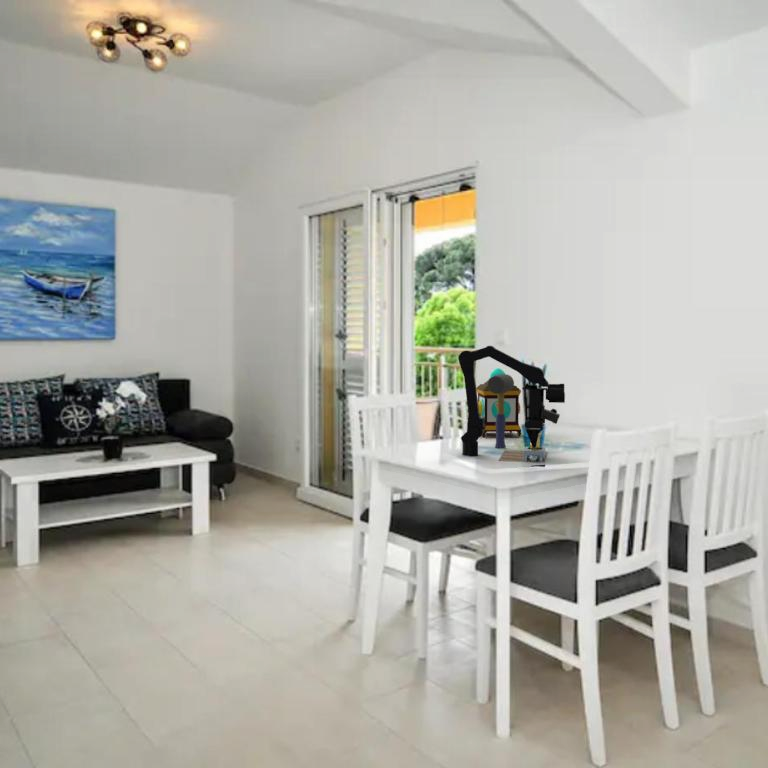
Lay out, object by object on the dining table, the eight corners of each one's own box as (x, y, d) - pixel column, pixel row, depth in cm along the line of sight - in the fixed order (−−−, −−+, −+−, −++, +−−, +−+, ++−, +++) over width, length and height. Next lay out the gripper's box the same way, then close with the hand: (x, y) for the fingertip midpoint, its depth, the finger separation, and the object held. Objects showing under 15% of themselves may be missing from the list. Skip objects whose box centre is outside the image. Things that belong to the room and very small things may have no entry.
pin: (526, 455, 280) (526, 431, 279) (537, 455, 281) (537, 430, 280) (532, 457, 275) (532, 432, 275) (543, 457, 277) (543, 432, 276)
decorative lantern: (514, 432, 356) (514, 367, 354) (525, 438, 337) (526, 369, 334) (471, 432, 355) (471, 367, 353) (479, 438, 335) (480, 369, 333)
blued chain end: (525, 454, 282) (525, 446, 282) (545, 455, 281) (545, 447, 280) (522, 461, 267) (522, 453, 267) (543, 462, 266) (543, 453, 266)
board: (504, 454, 293) (504, 450, 293) (547, 455, 289) (547, 451, 289) (497, 465, 270) (498, 460, 269) (544, 466, 266) (544, 462, 266)
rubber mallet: (504, 454, 292) (504, 375, 290) (485, 453, 296) (485, 374, 294) (514, 449, 303) (515, 373, 301) (496, 448, 307) (497, 373, 305)
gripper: (557, 405, 266) (557, 450, 267) (559, 400, 284) (558, 442, 285) (525, 404, 268) (524, 449, 270) (528, 399, 287) (527, 441, 288)
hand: (534, 445), depth 278 cm, fingers open, 9 cm apart
